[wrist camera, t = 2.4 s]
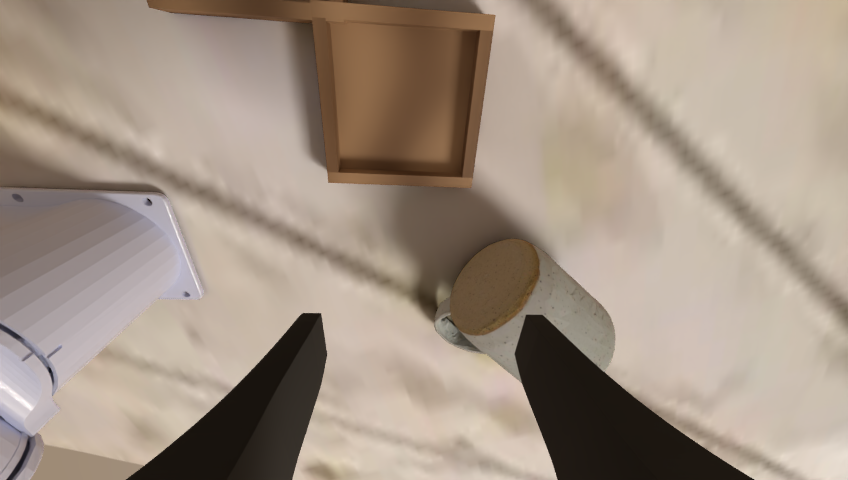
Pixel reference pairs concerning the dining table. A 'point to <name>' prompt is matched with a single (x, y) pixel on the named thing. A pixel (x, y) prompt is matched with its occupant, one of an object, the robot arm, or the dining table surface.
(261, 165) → the dining table surface
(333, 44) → the tray
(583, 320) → the ceramic mug
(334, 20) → the tray
